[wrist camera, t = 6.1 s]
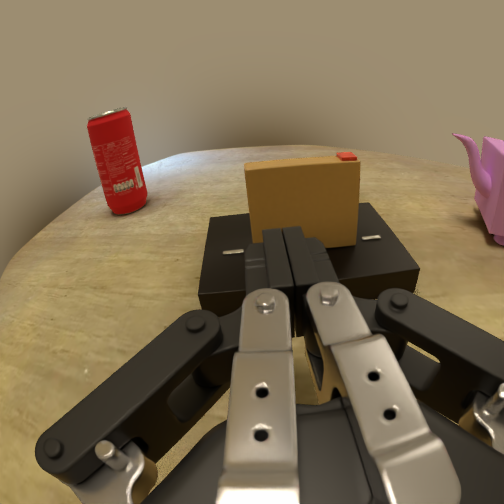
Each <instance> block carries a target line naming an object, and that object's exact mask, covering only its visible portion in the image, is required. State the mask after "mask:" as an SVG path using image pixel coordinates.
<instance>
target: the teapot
mask: <svg viewBox="0 0 504 504" xmlns="http://www.w3.org/2000/svg"><path fill="white" fill-rule="evenodd" d="M452 134H453V133H452ZM453 135H454V136H455V137H457V138H458V139H459V140H460V141H461V142H462V143H463V145H464V146H465V148H466V150H467V153H468V157H469V165H470V173H471V178H472V181H473V184H474V186H475V188H476V192H475V198H474V199H475V201H476V203H477V205H478V208H479V210H480V212H481V214H482V217H483V219H484V221H485V224H486V226H487V229H488V231H489V233H490V234H495V236H494V240H495V241H496V242H497V243H499V244H500V245H503V246H504V141H503V140H498V139H495V138H490V137H486V136H484V137H483V145H482V154H481V160H480V155H479V150H478V148H477V145H476V143H475V142H474V140H472V139H471V138H470V137H467V136H463V135H459V134H453Z"/></svg>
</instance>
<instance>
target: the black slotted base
mask: <svg viewBox="0 0 504 504" xmlns="http://www.w3.org/2000/svg"><path fill="white" fill-rule="evenodd" d="M252 243H253V240H252V232H251V223H250V214H249V213H246V214H237V215H228V216H219V217H211V218H210V221H209V227H208V233H207V239H206V245H205V251H204V258H203V264H202V270H201V277H200V283H199V290H198V297H199V301H200V304H201V308H202V310H208V311H211V312H213V313H214V314H215V315H217V317H221V316H224V315H227V314H230V313H232V312H234V311H236V310H237V309H239V308H240V307H241V306H242V304H243V300H244V299H245V297H246V281H245V250H246V249H247V247H248V246H249V244H252ZM325 249H326V251H327V253H328V256H329V258H330V261H331V263H332V266H333V268H334V271H335V273H336V275H337V278H338V280H339V283H340V284H342V285H344V286H345V287H346V288H347V289H348V290H349V291H350V293H351V295H352V296H355V297H358V298H363V299H374V298H378V296H379V295H380V293H382V292H383V291H385V290H387V289H391V288H400V289H404V290H407V291H409V292H414V290H415V287H416V283H417V279H418V275H419V271H420V268H419V266H418V265H417V263H416V262H415V261H414V259H413V258H412V257H411V255H410V254H409V253H408V251H407V250H406V249H405V247H404V246H403V245H402V243H401V242H400V241H399V239H398V238H397V237H396V235H395V234H394V233H393V232H392V230H391V229H390V228H389V226H388V225H387V224H386V223H385V221H384V220H383V219H382V218H381V216H380V215H379V214H378V213H377V212H376V210H375V209H374V208H373V207H372V206H371V204H370V203H359V207H358V223H357V236H356V245H352V246H343V247H334V248H325Z"/></svg>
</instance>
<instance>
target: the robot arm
mask: <svg viewBox="0 0 504 504" xmlns="http://www.w3.org/2000/svg"><path fill="white" fill-rule="evenodd" d="M262 236H263V242H262V243H252V244H249V246H248V247H247V249H246V250H245V281H246V297H245V299H244V300H243V304H242V306H241V307H240V308H239V309H237V310H236V311H234V312H232V313H230V314H227V315H224V316H221V317H217V315H215V314H214V313H213V312H211V311H208V310H193V311H190V312H187V313H185V314H183V315H182V316H181V317H179V318H178V319H177V320H176V321H175V322H173V323H172V324H171V325H170V326H169V327H168V328H166V329H165V330H164V331H163V332H162V333H161V334H159V335H158V336H157V337H156V338H155V339H154V340H152V341H151V342H150V343H149V344H148V345H146V346H145V347H144V348H143V349H142V350H141V351H139V352H138V353H137V354H136V355H135V356H134V357H132V358H131V359H130V360H129V361H128V362H126V363H125V364H124V365H123V366H122V367H121V368H119V369H118V370H117V371H116V372H115V373H114V374H112V375H111V376H110V377H109V378H108V379H106V380H105V381H104V382H103V383H102V384H101V385H99V386H98V387H97V388H96V389H95V390H93V391H92V392H91V393H90V394H89V395H88V396H86V397H85V398H84V399H83V400H82V401H81V402H79V403H78V404H77V405H76V406H75V407H73V408H72V409H71V410H70V411H69V412H68V413H66V414H65V415H64V416H63V417H62V418H60V419H59V420H58V421H57V422H56V423H55V424H53V425H52V426H51V427H50V428H49V429H47V430H46V431H45V432H44V433H43V434H42V435H41V436H40V437H39V439H38V441H37V443H36V447H35V457H36V460H37V463H38V464H39V466H40V467H41V468H42V469H43V470H44V471H46V472H48V473H49V474H51V475H52V476H54V477H56V478H57V479H59V480H60V481H61V482H62V483H64V484H66V485H67V486H69V487H70V488H71V489H72V491H73V492H74V493H75V494H76V496H77V497H78V498H79V499H80V501H81V502H82V503H83V504H504V341H502V340H501V339H499V338H497V337H495V336H493V335H491V334H489V333H488V332H486V331H484V330H482V329H480V328H478V327H476V326H475V325H473V324H471V323H469V322H467V321H465V320H463V319H461V318H460V317H458V316H456V315H454V314H452V313H450V312H448V311H446V310H444V309H442V308H440V307H438V306H437V305H435V304H433V303H431V302H429V301H427V300H425V299H423V298H421V297H419V296H417V295H415V294H413V293H411V292H409V291H407V290H404V289H400V288H391V289H387V290H385V291H383V292H382V293H380V295H379V296H378V299H377V300H372V299H363V298H358V297H355V296H352V295H351V293H350V291H349V290H348V289H347V288H346V287H345V286H344V285H342V284H340V283H339V280H338V278H337V275H336V273H335V271H334V268H333V266H332V263H331V261H330V258H329V256H328V253H327V251H326V249H325V246H324V244H323V243H322V242H321V241H319V240H318V239H317V238H316V237H311V238H305V237H304V234H303V231H302V228H301V226H294V227H284V228H282V232H281V228H274V229H264V230H262ZM295 332H296V337H301V336H304V340H305V356H306V360H307V363H308V366H309V370H310V373H311V377H312V380H313V384H314V387H315V391H316V394H317V398H318V405H305V404H296V400H295V381H294V364H293V350H292V338H293V337H295ZM408 341H409V342H410V343H412V344H414V345H416V346H417V347H419V348H421V349H423V350H424V351H426V352H428V353H430V354H431V355H433V356H435V357H436V358H437V359H438V360H439V361H440V363H438V362H435V361H434V360H432V359H430V358H428V357H427V356H425V355H423V354H421V353H420V352H418V351H416V350H415V349H413V348H411V347H409V346H408V345H407V344H408ZM229 388H230V395H229V406H228V416H227V420H225V421H224V422H222V423H220V424H218V425H217V426H215V427H214V428H212V429H211V430H210V431H209V432H207V433H206V434H205V435H204V436H203V437H202V438H201V439H200V440H199V442H198V443H197V444H196V445H195V446H194V447H193V448H192V449H191V451H190V452H189V453H188V454H187V455H186V456H185V457H184V458H183V459H182V460H181V461H180V463H179V464H178V465H177V466H176V467H175V468H174V469H173V470H172V471H171V472H170V473H169V474H168V475H167V476H166V477H165V479H164V480H163V481H162V482H161V483H160V484H159V485H158V486H157V487H156V488H155V489H154V490H153V491H152V492H151V493H150V494H149V492H150V490H151V489H152V488H153V486H154V485H155V483H156V481H157V478H158V470H157V467H156V465H155V464H156V463H157V462H158V461H159V460H160V459H161V458H162V457H163V456H164V455H165V454H166V453H167V452H168V451H169V450H170V449H171V448H172V447H173V446H174V445H175V444H176V443H177V442H178V441H179V440H180V439H181V438H182V437H183V436H184V435H185V434H186V433H187V432H188V431H189V430H190V429H191V428H192V427H193V426H194V425H195V424H196V423H197V422H198V421H199V420H200V419H201V418H202V417H203V415H204V414H205V413H206V412H207V411H208V410H209V409H210V408H211V407H212V406H213V405H214V404H215V403H216V402H217V401H218V400H219V399H220V397H221V396H222V395H223V394H224V393H225V392H226V391H227V390H228V389H229ZM417 399H418V400H417ZM435 410H436V411H435ZM438 412H439V413H438ZM441 414H442V415H441ZM443 415H444V416H445V417H444V416H443ZM446 417H447V418H449V419H450V420H449V419H447V418H446ZM451 420H452V421H454V422H455V423H457V424H459V426H458V425H457V424H455V423H454V422H452V421H451ZM148 494H149V495H148Z"/></svg>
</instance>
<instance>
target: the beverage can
mask: <svg viewBox="0 0 504 504" xmlns="http://www.w3.org/2000/svg"><path fill="white" fill-rule="evenodd" d="M88 120H89V122H88V126H87V128H88V133H89V137H90V142H91V146H92V150H93V154H94V158H95V162H96V166H97V169H98V173H99V177H100V180H101V184H102V188H103V191H104V194H105V198H106V201H107V204H108V206H109V207H110V209H111V210H112V211H113V213H114V214H117V215H123V214H128V213H132V212H134V211H137V210H139V209H140V208H142V207H143V206H144V205H145V204H146V197H147V189H146V185H145V181H144V177H143V172H142V168H141V164H140V159H139V155H138V150H137V146H136V141H135V136H134V131H133V126H132V121H131V115H130V113H129V112H128V111H127V107H123V108H119V109H115V110H111V111H108V112H105V113H101V114H98V115H95V116H93V117H90V118H88Z"/></svg>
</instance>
